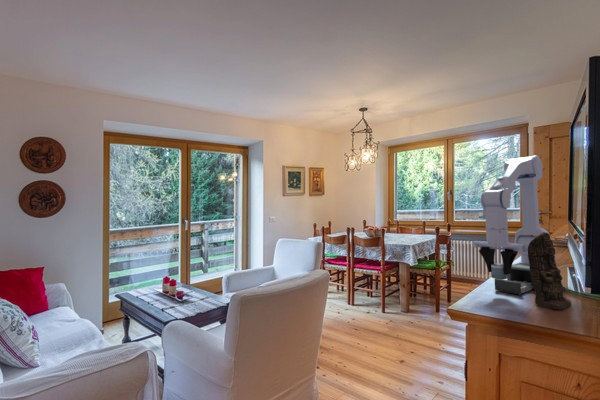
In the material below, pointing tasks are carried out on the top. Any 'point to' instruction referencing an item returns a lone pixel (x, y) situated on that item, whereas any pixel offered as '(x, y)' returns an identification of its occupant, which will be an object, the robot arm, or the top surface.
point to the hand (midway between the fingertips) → (499, 272)
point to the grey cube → (498, 271)
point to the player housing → (520, 273)
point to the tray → (513, 286)
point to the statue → (546, 273)
